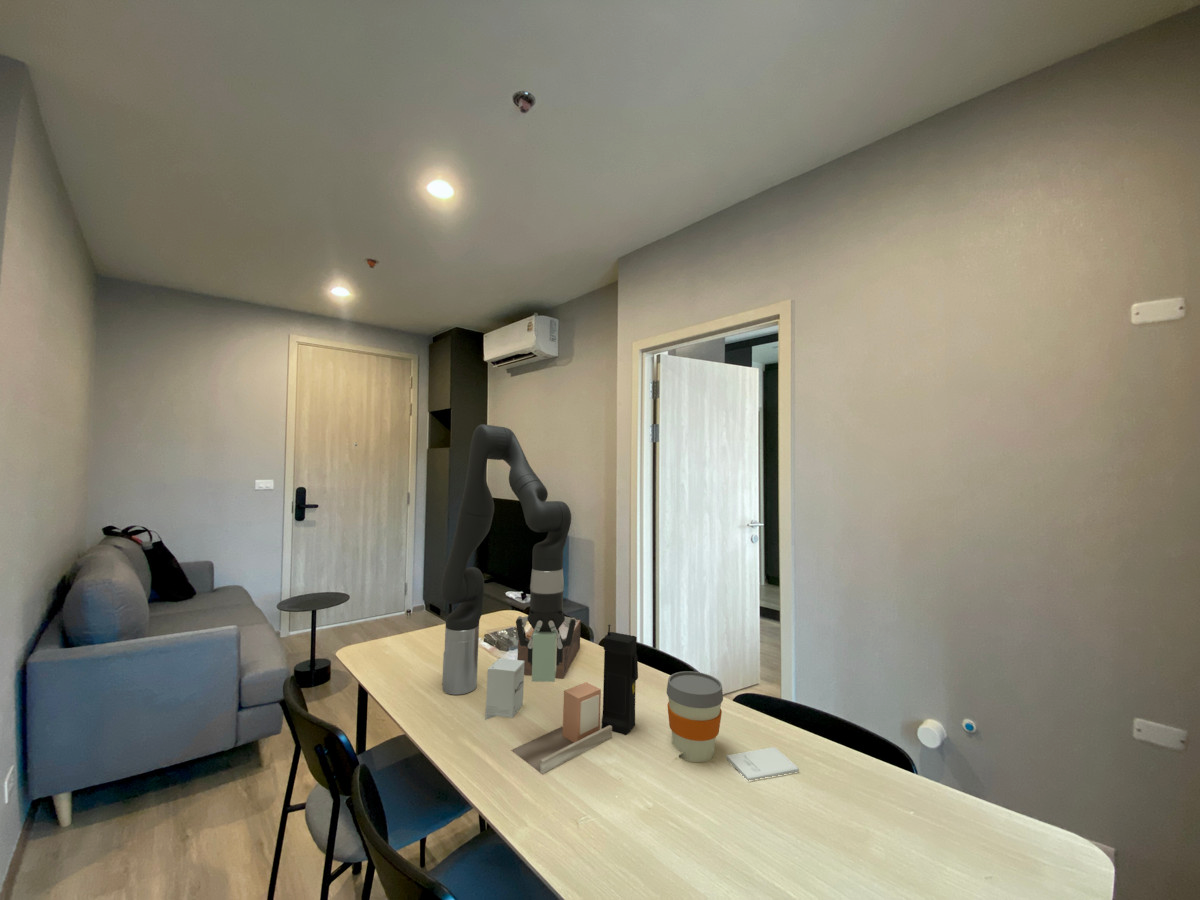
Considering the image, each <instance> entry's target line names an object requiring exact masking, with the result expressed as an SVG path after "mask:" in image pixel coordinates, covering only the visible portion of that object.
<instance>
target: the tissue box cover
mask: <svg viewBox="0 0 1200 900" xmlns="http://www.w3.org/2000/svg"><path fill="white" fill-rule="evenodd" d="M581 621H582V620H581V619H576V624H575V628H574V632H573V636H572V640H571V645H570V646H566V647H564V648H563V661H562V663H560V664H559V665H557V668H556V675H555V679H561V680H563V679H564V678H565V676H566V675H567V673H568V671H569V669H570V667H571V665H572V663H573V661H574V660H575V658H576V656H577V654H578V652H579V651H580V648H581V625H582V624H581ZM568 629H569V628H567V627H566V622H563V623H562V625H561V626H560V627H559V631H560V634H561V637H562V640H564V639H566V637H567V633H568ZM533 631H534V629H533V628H532V626H531V627H530V628H529V629H528V631H527V632H525V634H526V639H529V640H530V638H531V636H532V633H533ZM516 660H522V661H525V662H524V676H528V677H529V676H530V677H532V665H531V663H528V648H527V647H526V646H521V645H520V642H519V640H518V641H517V659H516Z"/></svg>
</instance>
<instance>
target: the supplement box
mask: <svg viewBox="0 0 1200 900" xmlns="http://www.w3.org/2000/svg"><path fill="white" fill-rule="evenodd" d="M524 662H525V661H522V660H517V659H513V658H512V659H511V658H510V659H509V658H502V657H501V658H498V659H497V660H495V661H494V662H493V663H492V664H491V665H490V666H489V667H488V668H487V677H486V678H487V681H486V697H485V698H486V702H485V717H484V718H485V719H484V720H485V721H487V720H489V719H492V718H495V717H503V718H510V719H511V718H514V717H515V716H516V714H517V713H518V712H519V710H520V709H521V707H523V705H524V685H525V675H524Z"/></svg>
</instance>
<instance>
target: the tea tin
mask: <svg viewBox="0 0 1200 900" xmlns="http://www.w3.org/2000/svg"><path fill="white" fill-rule="evenodd" d="M556 661H557V637H556V633H552V632H539V633H534V634H533V653H532V676H531V682H532V683H533V682H540V683H541V682H542V683H543V682H546V683H548V682H549V683H551V682H553V683H554V682H555V681H556V678H555V675H556V668H557V665H556Z"/></svg>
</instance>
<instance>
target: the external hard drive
mask: <svg viewBox="0 0 1200 900" xmlns="http://www.w3.org/2000/svg"><path fill="white" fill-rule="evenodd" d="M725 759H727V760H728V761H729V762H728V761H727V760H726V761H727V762H728V763H729V764H730V763H731V764H732V765H731V764H730V765H731V766H732V767H733V768H734V769H736V771H737V772H738V773H739V774H740V773H741V774H742V776H744V778H746V779H747V780H748V781H749V780H755V779H760V778H765V777H772V776H778V775H784V774H789V773H795V772H800V769H799V767H798V766H797V765H796V764H795V763H794V762H792V761H791V759H789V758H788V757H787V756H786V755H785V754H784V753H782V752H781V751H780V750H779V749H778V748H777V747H775V746H772V747H766V748H760V749H755V750H750V751H743V752H739V753H734V754H726V756H725ZM741 774H740V775H741ZM795 774H796V773H795ZM742 776H741V777H742ZM744 778H743V779H744Z"/></svg>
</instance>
